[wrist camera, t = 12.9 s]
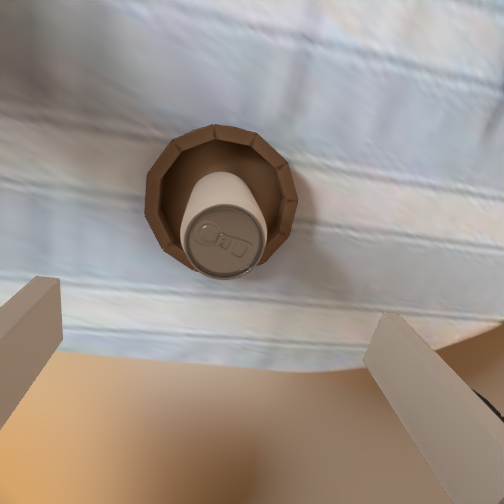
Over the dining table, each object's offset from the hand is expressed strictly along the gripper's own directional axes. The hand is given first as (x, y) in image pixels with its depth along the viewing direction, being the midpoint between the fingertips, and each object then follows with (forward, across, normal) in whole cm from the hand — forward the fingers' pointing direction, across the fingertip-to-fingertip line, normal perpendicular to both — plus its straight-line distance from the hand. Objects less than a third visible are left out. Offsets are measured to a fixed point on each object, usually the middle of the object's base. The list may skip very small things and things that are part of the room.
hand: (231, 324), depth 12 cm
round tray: (+22, 0, 0) cm, 22 cm away
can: (+21, 0, 0) cm, 21 cm away
